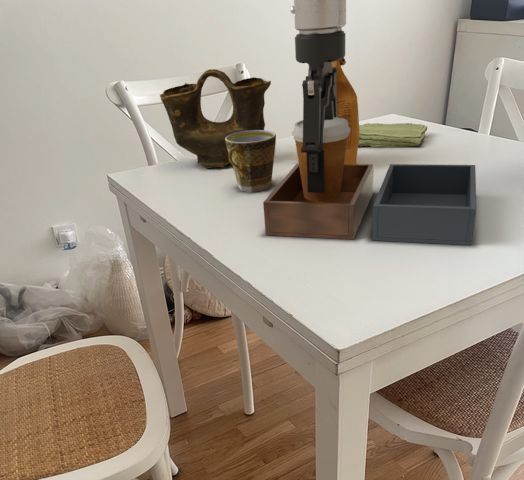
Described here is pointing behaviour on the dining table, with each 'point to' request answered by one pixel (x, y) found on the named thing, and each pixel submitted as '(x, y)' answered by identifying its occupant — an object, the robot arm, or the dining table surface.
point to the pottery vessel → (208, 132)
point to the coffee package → (347, 111)
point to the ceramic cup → (252, 158)
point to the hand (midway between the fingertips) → (321, 183)
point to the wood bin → (319, 206)
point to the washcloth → (391, 134)
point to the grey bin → (426, 204)
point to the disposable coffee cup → (325, 157)
